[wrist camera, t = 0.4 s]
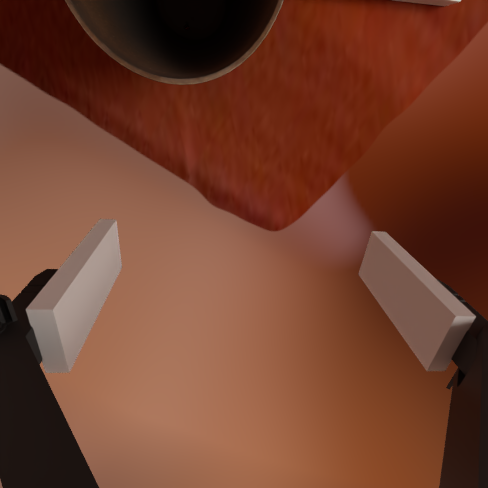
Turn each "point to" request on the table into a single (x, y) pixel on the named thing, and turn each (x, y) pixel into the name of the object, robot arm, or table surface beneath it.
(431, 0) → the white rimmed tray
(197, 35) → the plant pot
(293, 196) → the table surface
